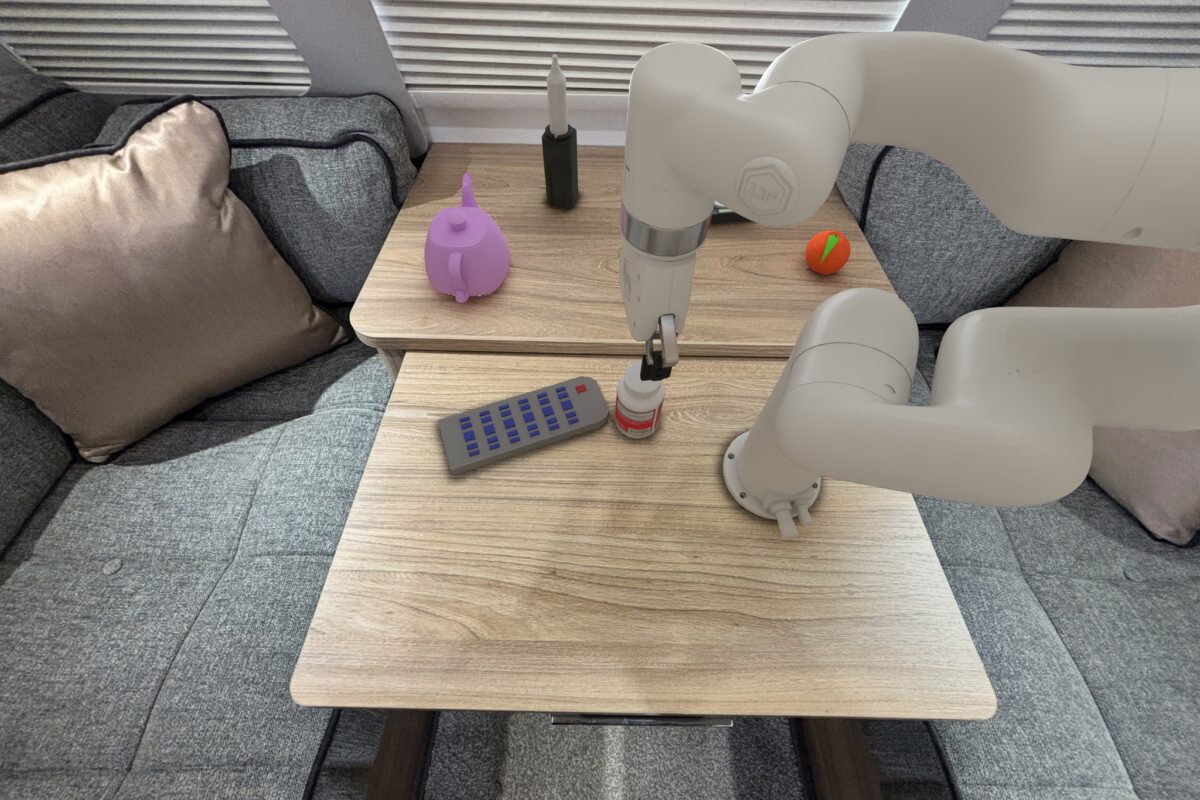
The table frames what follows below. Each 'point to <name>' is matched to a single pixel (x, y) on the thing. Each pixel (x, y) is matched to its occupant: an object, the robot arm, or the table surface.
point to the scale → (725, 215)
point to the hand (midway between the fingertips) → (645, 341)
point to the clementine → (827, 252)
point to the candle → (559, 144)
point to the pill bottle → (638, 403)
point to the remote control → (522, 423)
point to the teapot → (465, 249)
